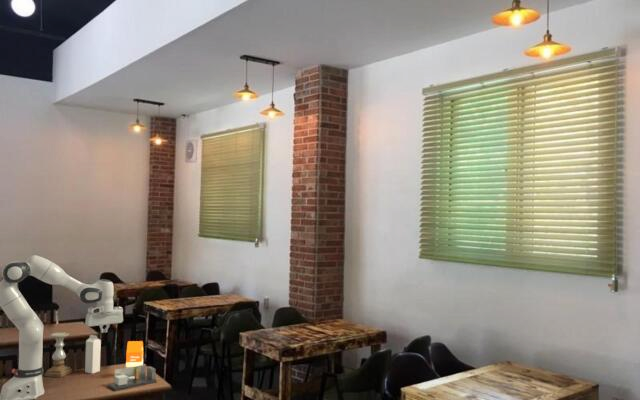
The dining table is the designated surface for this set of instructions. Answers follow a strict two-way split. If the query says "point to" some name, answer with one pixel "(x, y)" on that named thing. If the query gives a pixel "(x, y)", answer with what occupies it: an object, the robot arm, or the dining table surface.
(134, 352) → the orange juice
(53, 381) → the dining table surface
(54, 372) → the candle holder
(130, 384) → the bench
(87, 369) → the milk
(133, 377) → the white block
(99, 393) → the dining table surface
